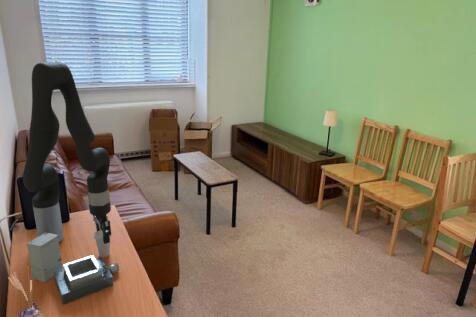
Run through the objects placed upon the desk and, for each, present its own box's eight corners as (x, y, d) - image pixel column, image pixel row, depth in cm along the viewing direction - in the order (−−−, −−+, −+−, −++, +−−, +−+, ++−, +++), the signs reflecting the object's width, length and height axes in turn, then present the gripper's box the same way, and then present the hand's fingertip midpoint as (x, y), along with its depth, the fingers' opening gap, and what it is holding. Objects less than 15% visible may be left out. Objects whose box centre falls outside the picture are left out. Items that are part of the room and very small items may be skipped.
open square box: (55, 281, 119) (52, 265, 117) (112, 262, 131) (111, 246, 129) (63, 304, 110) (60, 287, 107) (124, 281, 122) (123, 265, 119)
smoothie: (107, 260, 132) (104, 229, 127) (92, 257, 133) (88, 226, 128) (116, 251, 138) (113, 221, 133) (101, 248, 139) (98, 218, 134)
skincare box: (45, 283, 119) (39, 247, 113) (32, 279, 120) (25, 243, 115) (63, 268, 126) (58, 234, 121) (50, 265, 128) (45, 230, 123)
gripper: (83, 195, 130) (88, 232, 136) (94, 210, 120) (98, 249, 125) (103, 191, 135) (107, 226, 140) (115, 205, 124) (119, 243, 129)
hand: (103, 237), depth 133 cm, fingers open, 8 cm apart
